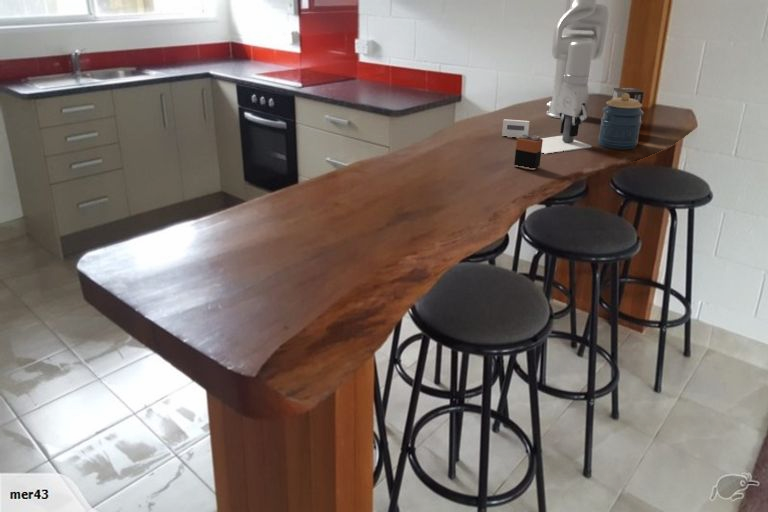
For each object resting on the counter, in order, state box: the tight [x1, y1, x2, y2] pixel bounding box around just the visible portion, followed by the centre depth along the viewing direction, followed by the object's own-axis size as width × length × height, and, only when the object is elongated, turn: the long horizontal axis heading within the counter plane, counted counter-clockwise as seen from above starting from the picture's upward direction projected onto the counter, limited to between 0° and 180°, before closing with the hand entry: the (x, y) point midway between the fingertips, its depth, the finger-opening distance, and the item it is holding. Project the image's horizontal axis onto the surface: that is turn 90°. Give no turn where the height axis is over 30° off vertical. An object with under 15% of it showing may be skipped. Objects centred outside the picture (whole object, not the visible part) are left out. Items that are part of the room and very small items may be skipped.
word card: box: [501, 118, 530, 139], centre depth 218 cm, size 1×9×6 cm, turn 74°
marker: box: [562, 115, 577, 142], centre depth 209 cm, size 4×4×11 cm
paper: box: [540, 135, 593, 155], centre depth 210 cm, size 15×20×1 cm
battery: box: [513, 135, 543, 168], centre depth 186 cm, size 4×7×10 cm, turn 54°
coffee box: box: [611, 87, 644, 110], centre depth 220 cm, size 9×6×16 cm
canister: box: [597, 93, 644, 151], centre depth 207 cm, size 13×13×18 cm
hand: (568, 134), depth 211 cm, fingers closed on marker, 3 cm apart
